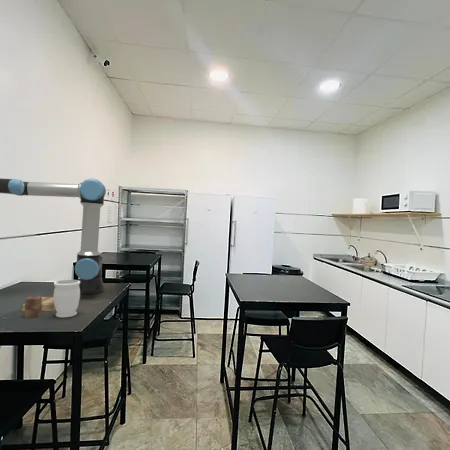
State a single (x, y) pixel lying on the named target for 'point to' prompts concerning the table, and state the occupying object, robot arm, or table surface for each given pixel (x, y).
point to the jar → (66, 297)
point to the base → (45, 304)
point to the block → (33, 306)
